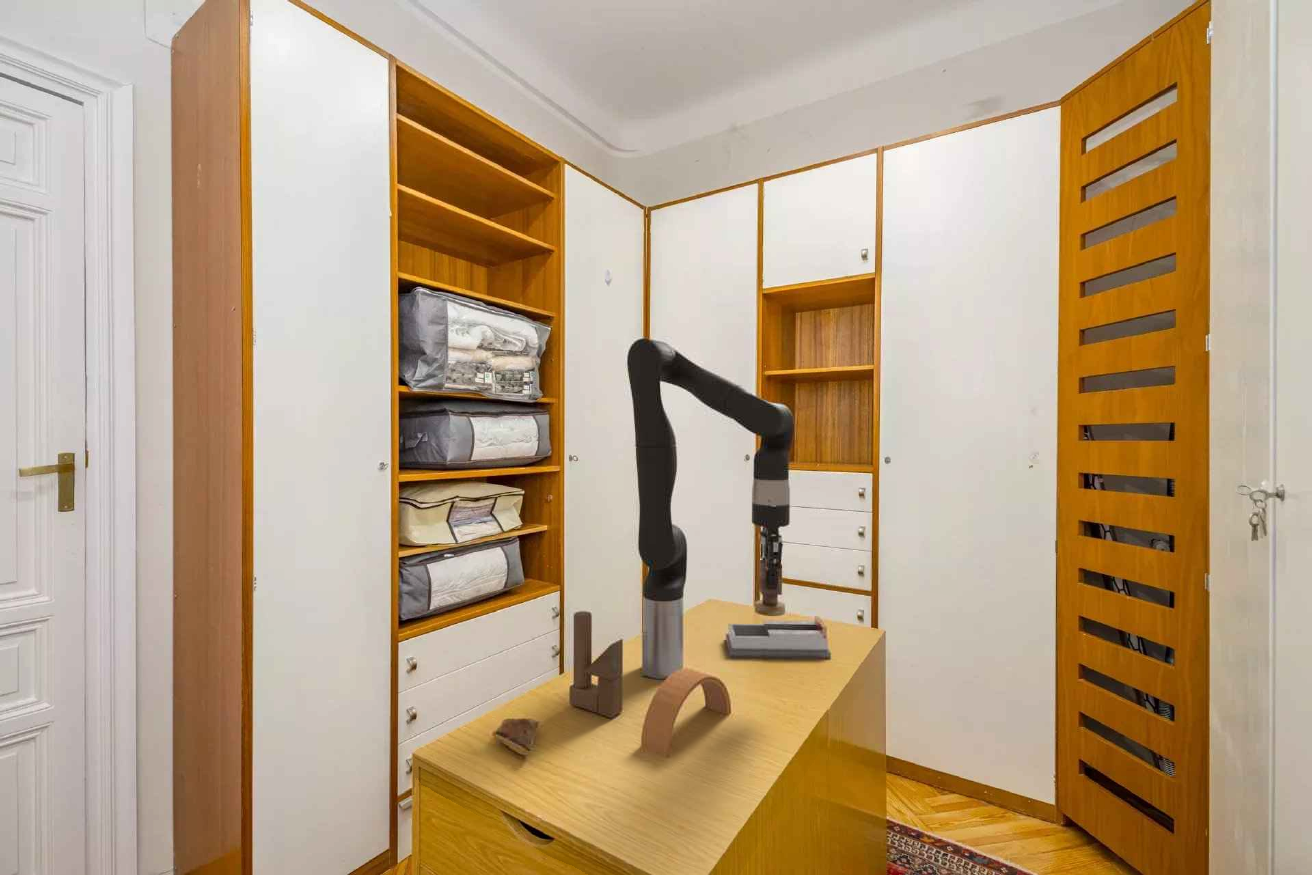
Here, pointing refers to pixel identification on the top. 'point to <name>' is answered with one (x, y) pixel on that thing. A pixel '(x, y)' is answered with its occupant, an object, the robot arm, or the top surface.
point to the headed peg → (769, 594)
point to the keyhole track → (779, 639)
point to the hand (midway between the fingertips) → (769, 585)
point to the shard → (517, 734)
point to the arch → (679, 706)
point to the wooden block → (595, 671)
